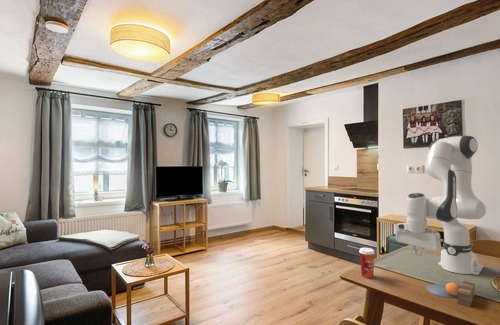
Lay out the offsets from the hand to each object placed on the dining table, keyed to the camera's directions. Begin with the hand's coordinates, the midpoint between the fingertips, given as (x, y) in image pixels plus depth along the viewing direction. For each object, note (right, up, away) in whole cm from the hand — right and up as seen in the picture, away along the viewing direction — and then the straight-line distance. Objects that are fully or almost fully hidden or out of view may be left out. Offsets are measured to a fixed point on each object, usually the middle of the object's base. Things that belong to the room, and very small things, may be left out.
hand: (417, 255), depth 139 cm
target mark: (+6, -13, -9) cm, 17 cm away
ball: (+8, -11, -13) cm, 19 cm away
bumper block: (+11, -14, -17) cm, 24 cm away
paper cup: (-20, -14, +10) cm, 27 cm away
